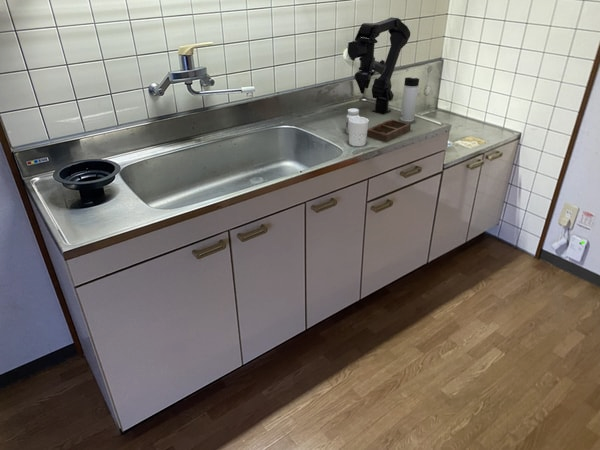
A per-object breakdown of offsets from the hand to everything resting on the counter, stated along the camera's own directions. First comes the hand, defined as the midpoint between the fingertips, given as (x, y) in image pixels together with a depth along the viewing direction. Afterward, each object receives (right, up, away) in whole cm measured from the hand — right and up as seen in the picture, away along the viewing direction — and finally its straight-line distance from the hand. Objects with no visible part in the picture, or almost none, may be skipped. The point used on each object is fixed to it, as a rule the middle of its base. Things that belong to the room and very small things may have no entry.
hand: (364, 90), depth 209 cm
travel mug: (+20, -13, +4) cm, 24 cm away
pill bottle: (-7, -20, -8) cm, 23 cm away
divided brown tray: (+9, -21, -9) cm, 25 cm away
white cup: (-6, -27, -19) cm, 34 cm away
